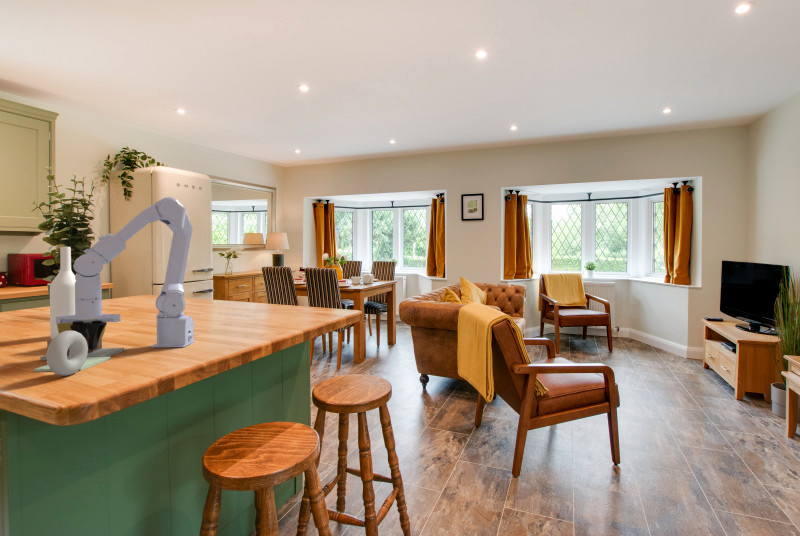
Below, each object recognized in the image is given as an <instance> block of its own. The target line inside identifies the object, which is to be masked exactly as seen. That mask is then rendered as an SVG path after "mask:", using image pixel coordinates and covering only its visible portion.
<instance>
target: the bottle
mask: <svg viewBox="0 0 800 536" xmlns="http://www.w3.org/2000/svg"><path fill="white" fill-rule="evenodd" d="M71 247H72V246H60V247H59V248H60V250H59V254H60V256H59V258H60V267H59V272H58V273H57V275H56V276H55V278H54V279H53V280H52V281H51V283H50V285H49V315H50V316H49V318H50V321H49V322H50V323H49V324H50V339H51V340H53V338H55V337H56V336H57V335H58V334H59V332H58V327H57V324H56V316H63V315H75V282H76V280H75V275H76V274H74V272H73V271H72V256H71V255H72V252H71V251H72V250H71V249H72V248H71Z"/></svg>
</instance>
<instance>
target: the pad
mask: <svg viewBox="0 0 800 536" xmlns="http://www.w3.org/2000/svg"><path fill="white" fill-rule="evenodd" d="M108 360H111V356H109V357H86V361H85V362H84V364H83V366H82V367H81V368H80V369H79V370H78V371H77V372H79V371H81V372H82V371H84V370H86V369H88V368H91V367H93V366H96V365H98V364H101V363H104V362H107V361H108ZM33 372H34V373H35V372H36V373H37V372H52V371H51V370H50V368H49V366H48V364H44V365H43V366H39V367H37V368H34V371H33Z"/></svg>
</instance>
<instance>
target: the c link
mask: <svg viewBox="0 0 800 536" xmlns="http://www.w3.org/2000/svg"><path fill="white" fill-rule="evenodd" d="M85 339H86V342H87V346H88V353H91V352H94V351H96V350H99V349H102V348H103V337H102V335H100V338H99V341H98V345H97V348H96V349H94V350H90V347H89V337H87V338H85ZM52 340H53V339H51V340H47V341H46V347H47V348H46V350H48V347H49V344H50V343H51V341H52ZM88 353H87V354H88ZM67 356H69V348H68V350H67Z"/></svg>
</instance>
